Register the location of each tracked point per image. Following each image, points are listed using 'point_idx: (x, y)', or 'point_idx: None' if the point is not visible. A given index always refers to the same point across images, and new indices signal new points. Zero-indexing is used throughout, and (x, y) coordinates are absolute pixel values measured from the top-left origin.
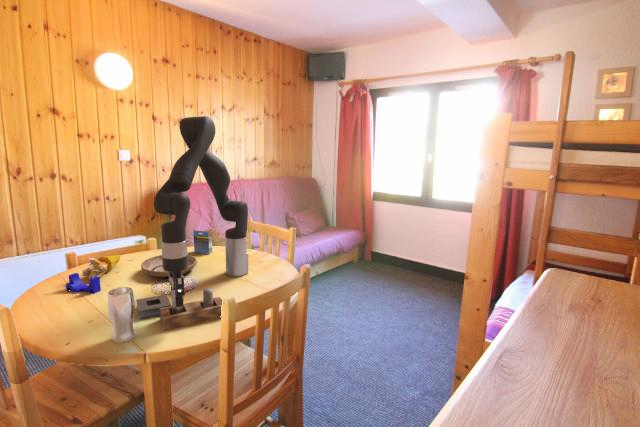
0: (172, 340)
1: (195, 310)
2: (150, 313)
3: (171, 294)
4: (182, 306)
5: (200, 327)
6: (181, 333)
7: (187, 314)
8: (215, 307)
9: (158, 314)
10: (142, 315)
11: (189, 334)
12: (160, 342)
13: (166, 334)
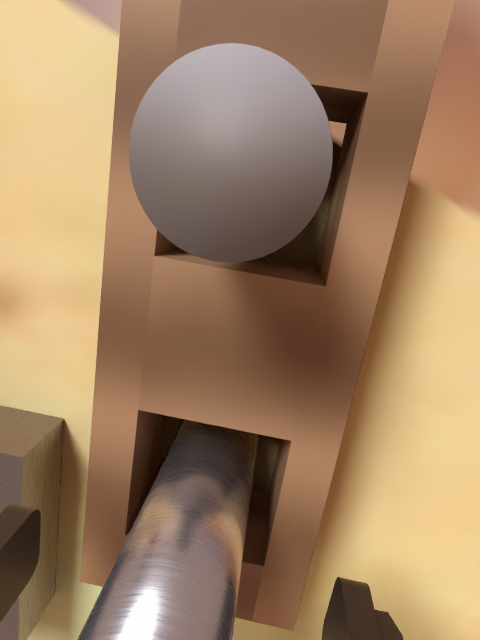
0: (465, 555)
1: (323, 369)
2: (41, 562)
3: (11, 599)
4: (222, 480)
5: (434, 341)
6: (417, 480)
7: (336, 450)
8: (406, 145)
9: (54, 503)
10: (41, 601)
11: (475, 446)
12: (432, 610)
13: (358, 552)
